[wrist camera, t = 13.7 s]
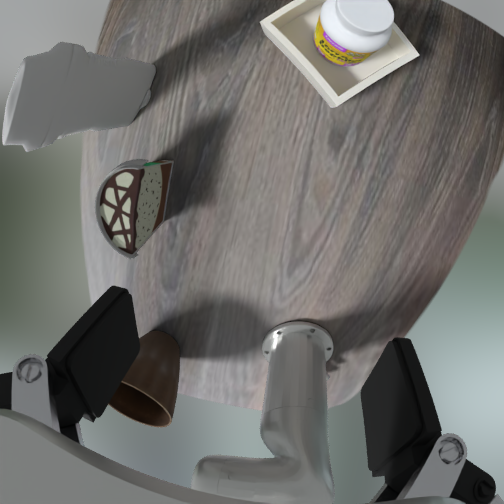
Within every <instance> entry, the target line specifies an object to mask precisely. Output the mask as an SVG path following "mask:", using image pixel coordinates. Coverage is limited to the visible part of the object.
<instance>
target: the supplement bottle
mask: <svg viewBox="0 0 504 504" xmlns="http://www.w3.org/2000/svg"><path fill="white" fill-rule="evenodd" d="M393 21H394V11H393V8H392V6H391V4H390V3H389V1H388V0H326V1H325V2H324V4H323V6H322V8H321V11H320V15H319V18H318V22H317V25H316V28H315V32H314V45H315V48H316V50H317V52H318V53H319V54H320V56H321V57H322V58H324V59H325V60H326V61H328V62H329V63H331V64H334V65H337V66H342V67H350V66H355V65H357V64H359V63H361V62H362V61H364V60H365V59H366V58H368V57H369V56H371V55H372V54H374V53H375V52H376V51H378V50H379V49H381V48H382V47H384V46H385V45H386V44H387V43H388V41H389V39H390V37H391V34H392V23H393Z"/></svg>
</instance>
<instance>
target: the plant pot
mask: <svg viewBox="0 0 504 504" xmlns="http://www.w3.org/2000/svg"><path fill="white" fill-rule="evenodd" d="M139 342H140V351H139V354H138V356H137V357H136V359H135V360H134V362H133V364H132V365H131V367H130V369H129V370H128V372H127V373H126V375H125V377H124V378H123V380H122V382H121V383H120V385H119V387H118V388H117V390H116V392H115V393H114V395H113V397H112V398H111V400H110V402H109V403H108V404H109V405H110V406H111V407H112V408H114V409H115V410H116V411H118V412H119V413H121V414H123V415H124V416H126V417H128V418H130V419H132V420H134V421H137V422H139V423H142V424H145V425H149V426H154V427H166V426H169V425H170V424H171V422H172V417H173V413H174V408H175V403H176V398H177V391H178V382H179V370H180V349H179V345H178V343H177V342H176V341H175V339H174V338H172V337H171V336H170V335H168V334H166V333H164V332H161V331H151V332H149V333H147V334H145V335H144V336H142V337H141V338H139Z"/></svg>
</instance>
